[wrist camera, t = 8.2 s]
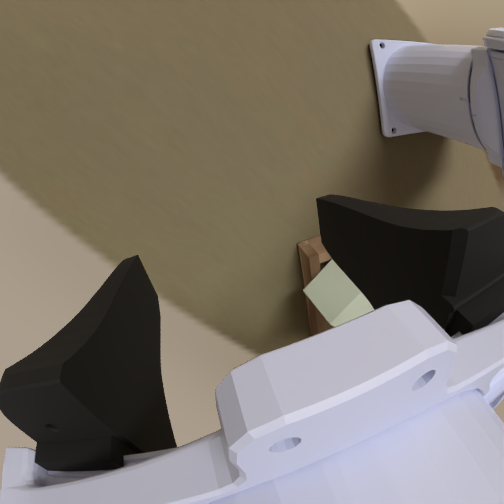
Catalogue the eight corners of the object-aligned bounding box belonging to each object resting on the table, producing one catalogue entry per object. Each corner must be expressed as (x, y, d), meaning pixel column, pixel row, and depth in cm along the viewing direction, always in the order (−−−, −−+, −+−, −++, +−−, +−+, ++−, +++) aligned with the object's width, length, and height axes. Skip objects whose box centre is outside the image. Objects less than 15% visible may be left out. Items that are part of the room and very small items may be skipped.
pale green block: (343, 246, 22) (375, 275, 19) (381, 288, 27) (407, 313, 24) (302, 290, 23) (329, 324, 20) (348, 322, 28) (372, 350, 24)
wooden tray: (380, 215, 25) (396, 226, 23) (377, 310, 31) (388, 324, 29) (297, 243, 24) (309, 257, 22) (310, 338, 30) (319, 354, 28)
